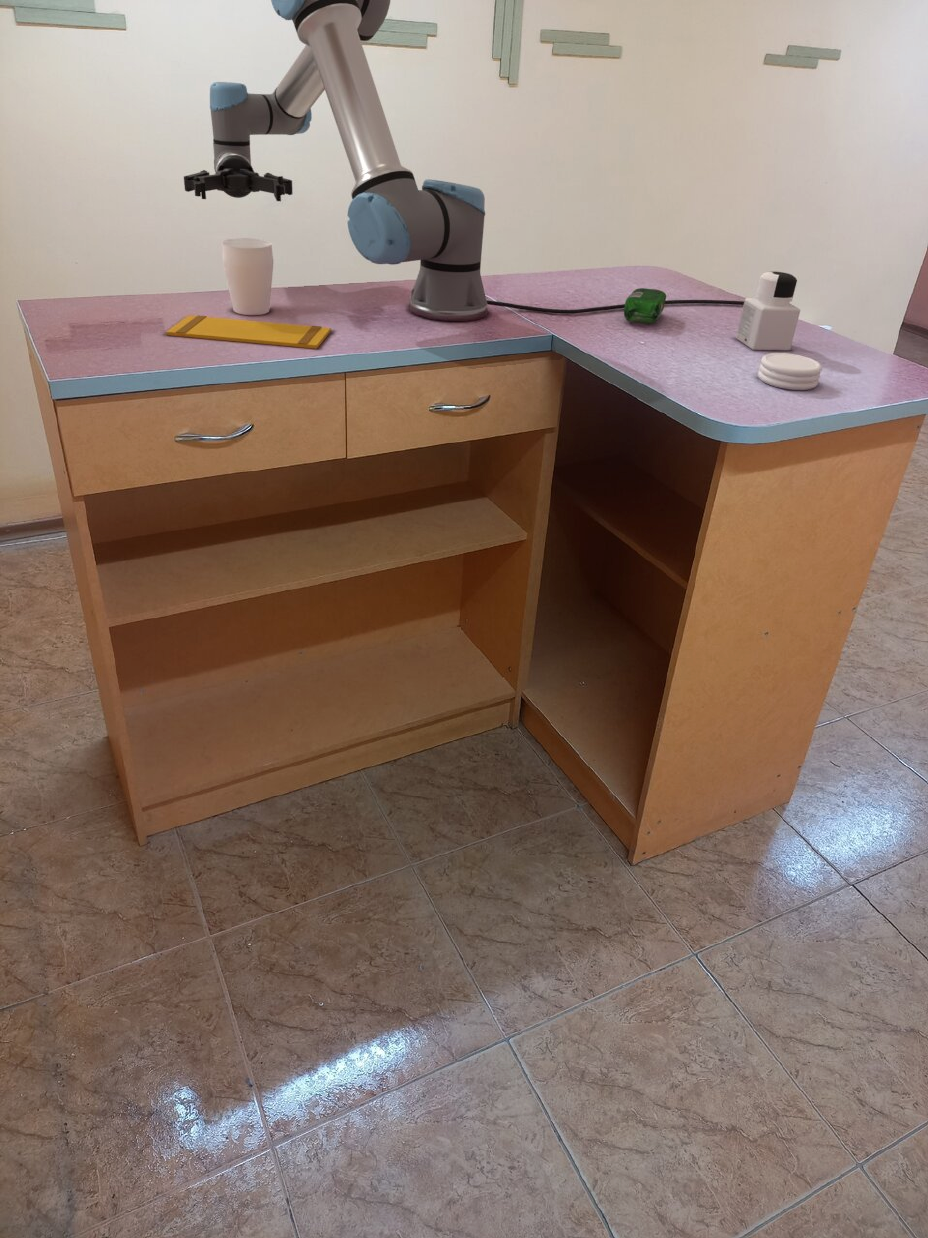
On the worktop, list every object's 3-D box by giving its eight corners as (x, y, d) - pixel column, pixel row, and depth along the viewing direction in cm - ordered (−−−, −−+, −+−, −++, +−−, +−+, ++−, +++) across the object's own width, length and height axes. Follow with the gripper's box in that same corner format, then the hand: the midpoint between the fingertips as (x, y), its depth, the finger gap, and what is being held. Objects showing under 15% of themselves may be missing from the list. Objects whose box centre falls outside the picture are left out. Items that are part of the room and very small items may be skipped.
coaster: (814, 395, 147) (820, 374, 145) (752, 383, 150) (758, 363, 148) (819, 378, 155) (825, 358, 153) (761, 368, 158) (766, 348, 156)
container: (772, 339, 175) (789, 269, 168) (790, 350, 169) (809, 278, 162) (735, 338, 174) (751, 268, 166) (752, 350, 167) (769, 277, 160)
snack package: (618, 326, 176) (622, 299, 173) (631, 307, 188) (636, 282, 185) (653, 332, 174) (659, 304, 171) (665, 313, 187) (670, 287, 184)
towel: (330, 331, 161) (330, 327, 160) (316, 348, 151) (316, 344, 151) (188, 318, 162) (188, 314, 161) (166, 335, 153) (165, 330, 152)
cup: (270, 318, 165) (266, 249, 158) (221, 315, 165) (215, 245, 158) (280, 306, 172) (276, 239, 166) (233, 303, 172) (228, 236, 166)
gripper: (297, 196, 188) (309, 215, 171) (173, 192, 182) (173, 212, 165) (296, 156, 184) (308, 172, 167) (169, 151, 178) (168, 167, 161)
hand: (241, 192), depth 166 cm, fingers open, 13 cm apart
